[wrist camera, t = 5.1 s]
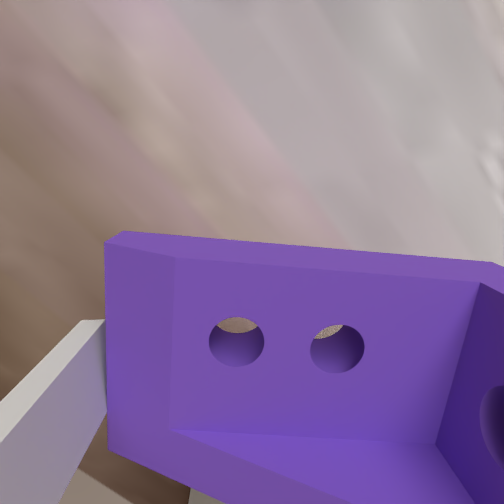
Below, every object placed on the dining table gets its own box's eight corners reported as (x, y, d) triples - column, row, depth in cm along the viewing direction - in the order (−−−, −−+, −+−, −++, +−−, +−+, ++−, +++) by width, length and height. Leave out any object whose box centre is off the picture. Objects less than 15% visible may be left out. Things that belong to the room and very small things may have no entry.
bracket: (491, 261, 11) (840, 405, 5) (442, 433, 13) (647, 712, 6) (123, 230, 11) (-67, 345, 4) (123, 415, 12) (-10, 703, 6)
